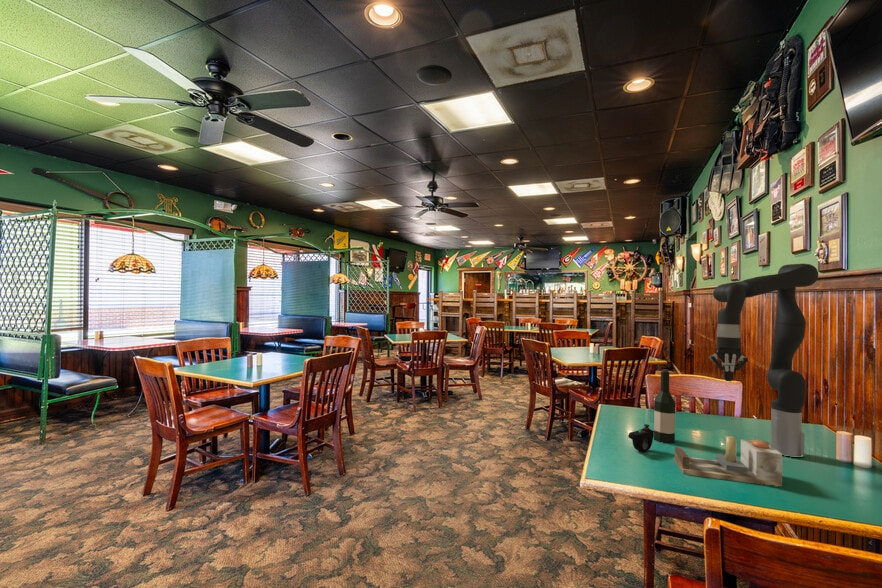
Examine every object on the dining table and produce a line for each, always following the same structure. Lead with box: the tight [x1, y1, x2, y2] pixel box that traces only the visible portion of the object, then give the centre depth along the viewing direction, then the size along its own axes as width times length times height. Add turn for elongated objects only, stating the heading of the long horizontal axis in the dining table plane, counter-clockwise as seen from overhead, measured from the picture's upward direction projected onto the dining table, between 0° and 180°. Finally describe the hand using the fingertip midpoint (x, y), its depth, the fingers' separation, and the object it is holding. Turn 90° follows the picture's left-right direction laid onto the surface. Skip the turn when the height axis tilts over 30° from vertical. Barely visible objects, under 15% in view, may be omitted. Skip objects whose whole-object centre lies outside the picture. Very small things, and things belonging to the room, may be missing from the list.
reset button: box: [752, 439, 770, 449], centre depth 136 cm, size 4×4×1 cm
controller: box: [627, 423, 654, 453], centre depth 157 cm, size 4×12×10 cm, turn 120°
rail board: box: [673, 439, 783, 487], centre depth 139 cm, size 28×12×10 cm, turn 73°
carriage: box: [714, 435, 748, 473], centre depth 138 cm, size 6×10×10 cm, turn 163°
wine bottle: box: [653, 368, 676, 444], centre depth 171 cm, size 8×8×30 cm
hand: (728, 381), depth 154 cm, fingers closed
